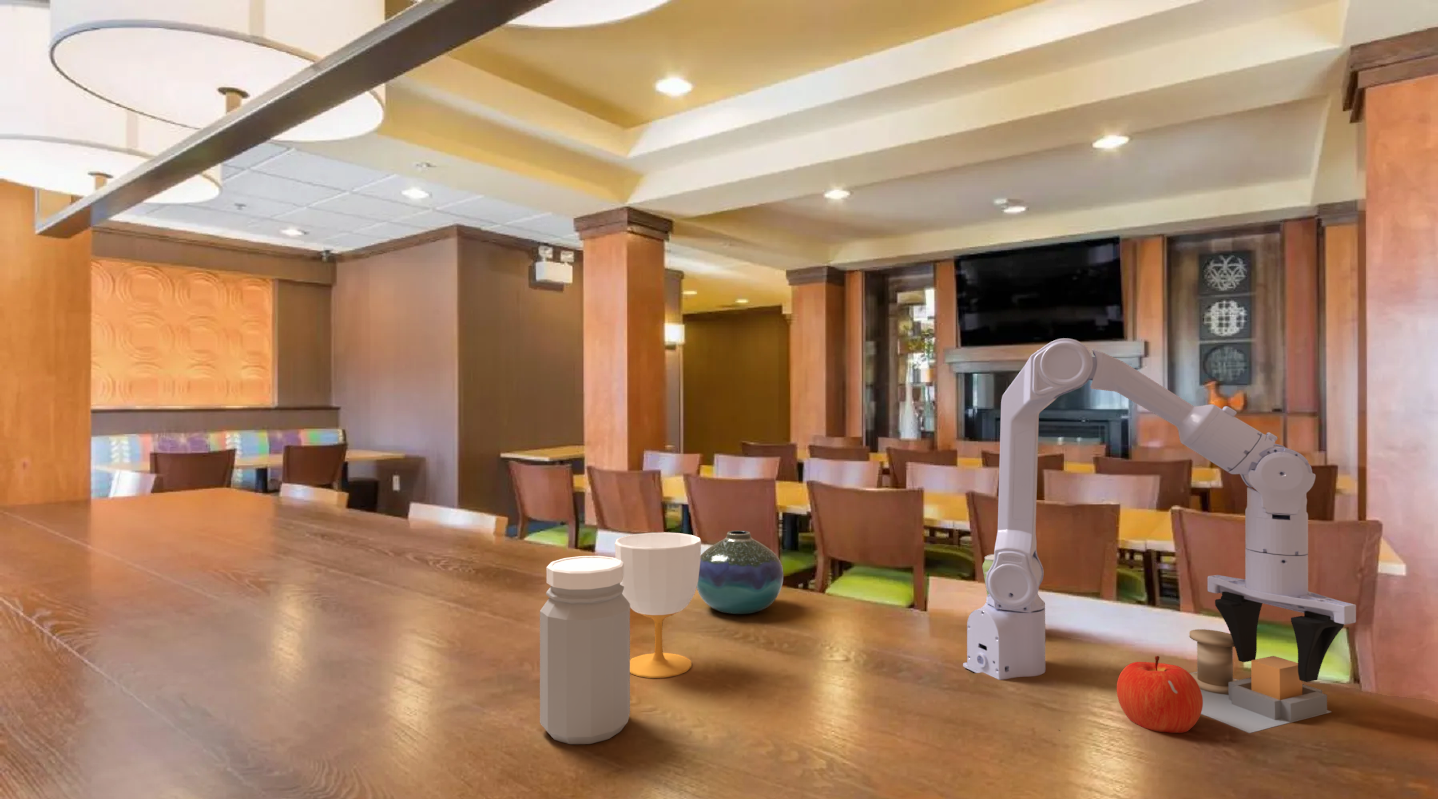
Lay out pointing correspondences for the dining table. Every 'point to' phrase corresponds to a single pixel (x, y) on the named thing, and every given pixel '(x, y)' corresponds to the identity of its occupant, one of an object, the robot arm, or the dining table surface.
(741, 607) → the vase
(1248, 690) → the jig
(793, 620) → the dining table surface
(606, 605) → the jar
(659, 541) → the cup
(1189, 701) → the apple
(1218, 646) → the knob
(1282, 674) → the block
